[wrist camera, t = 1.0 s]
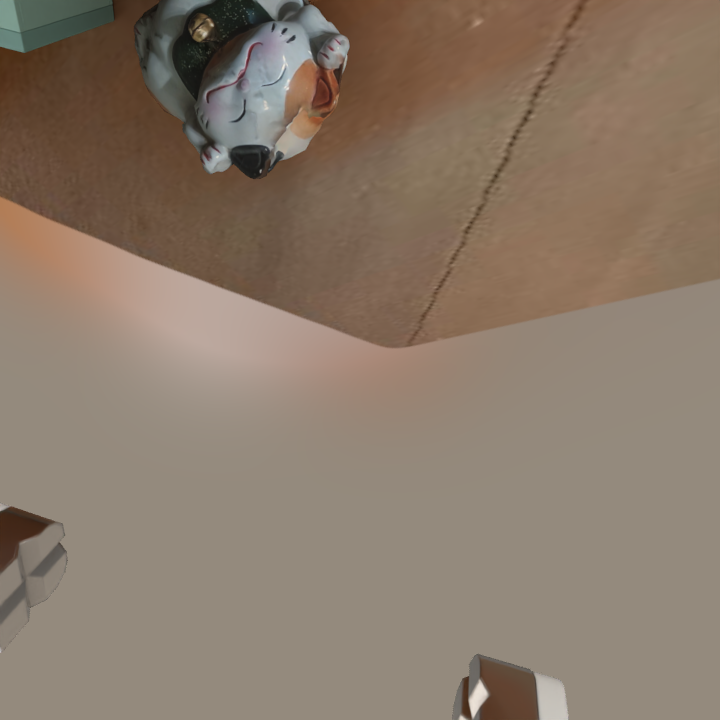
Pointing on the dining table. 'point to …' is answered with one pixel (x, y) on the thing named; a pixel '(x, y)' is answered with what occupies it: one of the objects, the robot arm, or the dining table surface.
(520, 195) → the dining table surface
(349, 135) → the dining table surface
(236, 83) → the lucky cat figurine
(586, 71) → the dining table surface
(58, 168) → the dining table surface
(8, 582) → the robot arm
